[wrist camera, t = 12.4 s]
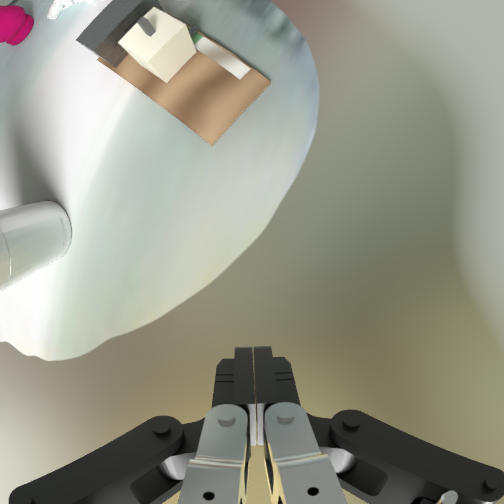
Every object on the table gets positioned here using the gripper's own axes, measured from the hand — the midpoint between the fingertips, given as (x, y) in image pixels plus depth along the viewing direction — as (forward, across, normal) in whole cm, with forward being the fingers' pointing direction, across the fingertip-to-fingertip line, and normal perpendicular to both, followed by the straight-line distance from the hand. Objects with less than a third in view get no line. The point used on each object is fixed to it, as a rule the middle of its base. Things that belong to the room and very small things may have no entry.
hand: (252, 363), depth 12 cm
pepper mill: (+27, +40, -40) cm, 63 cm away
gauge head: (+25, +9, -25) cm, 37 cm away
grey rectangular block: (+26, +15, -29) cm, 42 cm away
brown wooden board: (+27, +8, -23) cm, 36 cm away
